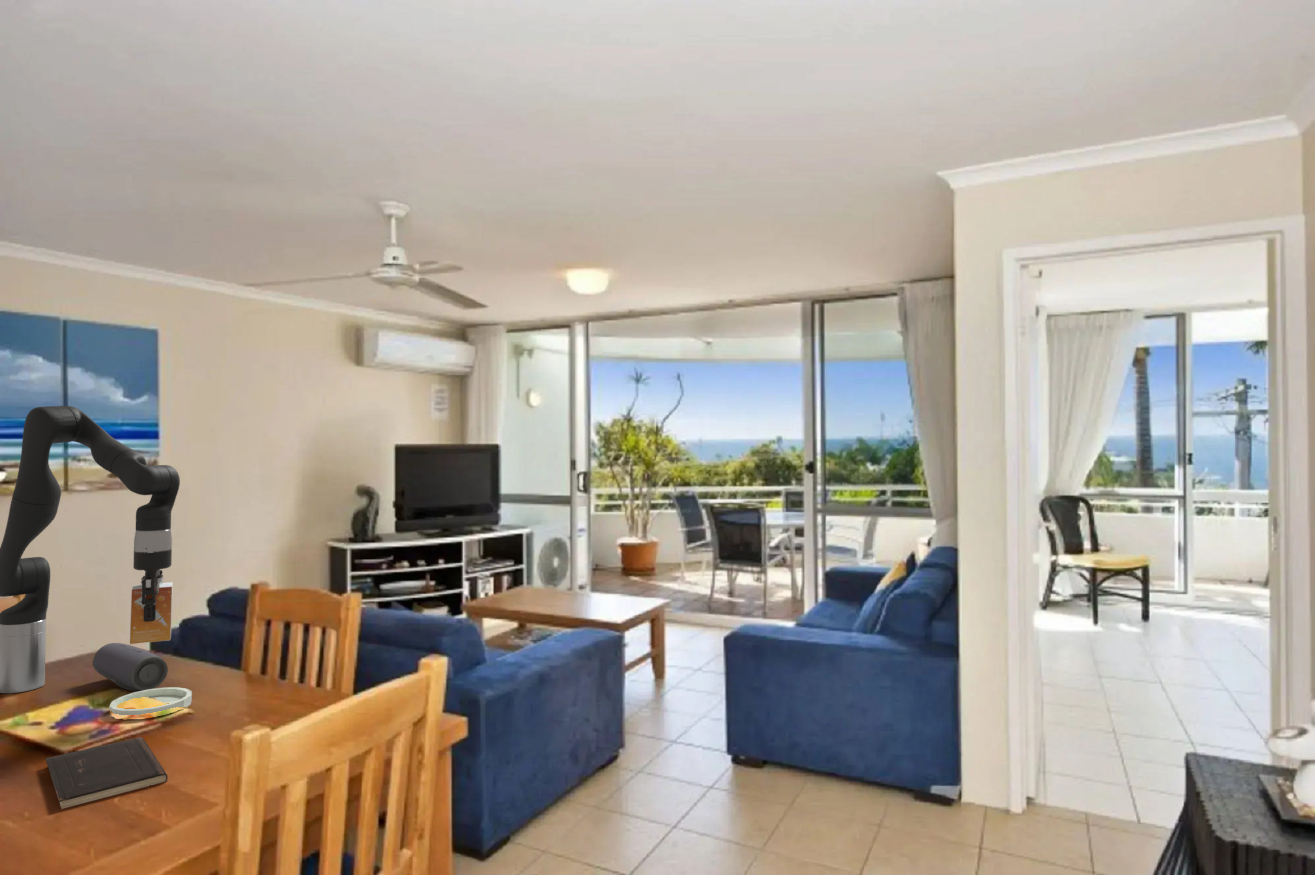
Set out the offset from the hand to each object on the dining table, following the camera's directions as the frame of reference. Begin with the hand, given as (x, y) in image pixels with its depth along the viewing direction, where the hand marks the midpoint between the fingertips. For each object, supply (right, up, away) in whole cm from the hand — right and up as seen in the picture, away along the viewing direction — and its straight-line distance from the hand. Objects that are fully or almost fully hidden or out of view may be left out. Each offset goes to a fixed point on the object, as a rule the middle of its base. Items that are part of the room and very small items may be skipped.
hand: (151, 617), depth 175 cm
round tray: (0, -22, 0) cm, 22 cm away
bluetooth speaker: (-16, -22, +15) cm, 31 cm away
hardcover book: (+15, -22, -35) cm, 44 cm away
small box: (0, -5, 0) cm, 5 cm away
